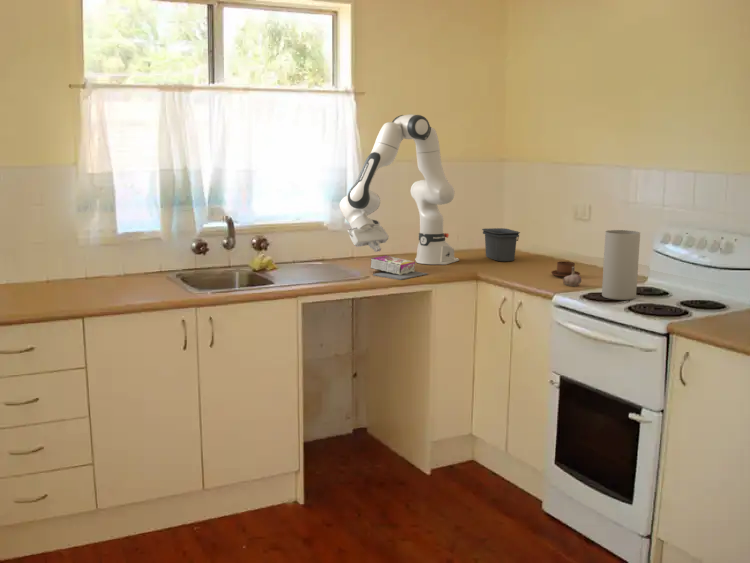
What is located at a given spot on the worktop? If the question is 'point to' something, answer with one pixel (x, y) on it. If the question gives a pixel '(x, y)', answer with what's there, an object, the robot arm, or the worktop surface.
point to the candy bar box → (392, 265)
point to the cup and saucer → (564, 269)
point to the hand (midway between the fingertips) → (378, 250)
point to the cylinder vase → (620, 264)
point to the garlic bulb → (572, 279)
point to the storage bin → (500, 243)
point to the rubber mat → (400, 277)
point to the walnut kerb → (377, 271)
